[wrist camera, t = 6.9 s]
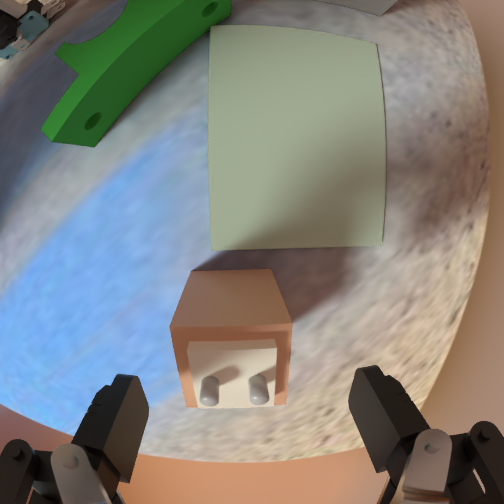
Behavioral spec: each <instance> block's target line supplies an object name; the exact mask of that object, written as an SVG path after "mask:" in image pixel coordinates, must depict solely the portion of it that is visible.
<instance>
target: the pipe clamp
mask: <svg viewBox="0 0 504 504" xmlns="http://www.w3.org/2000/svg"><path fill="white" fill-rule="evenodd" d="M229 15H231V0H127V5H126V7H125V9H124V11H123V13H122V14H121V16H120V17H119V18H118V19H117V20H116V22H115V23H114V24H113V25H111V26H110V27H109V28H108V29H107V30H106V31H104V32H103V33H101V34H100V35H98V36H97V37H95V38H93V39H91V40H89V41H87V42H84V43H80V44H68V43H66V42H64V43H63V44H62V46H61V47H60V48H59V49H58V50H57V51H56V53H55V55H56V56H58V57H59V58H60V59H61V60H62V61H64V62H65V63H66V64H67V65H68V66H69V67H71V68H72V69H73V70H74V71H75V72H76V73H78V74H79V76H78V77H77V78H76V79H75V81H74V82H73V83H72V84H71V86H70V87H69V88H68V90H67V91H66V92H65V94H64V95H63V96H62V98H61V99H60V100H59V102H58V103H57V105H56V106H55V108H54V109H53V110H52V112H51V113H50V115H49V116H48V118H47V119H46V121H45V123H44V124H43V126H42V127H41V130H42V132H43V133H44V134H45V135H46V136H47V137H48V138H49V140H50V141H51V142H57V143H65V144H73V145H81V146H88V147H95V146H96V144H97V143H98V142H99V140H100V139H101V138H102V136H103V135H104V134H105V133H106V131H107V130H108V129H109V127H110V126H111V125H112V124H113V123H114V121H115V120H116V119H117V118H118V116H119V115H120V114H121V113H122V112H123V111H124V109H125V108H126V107H127V106H128V105H129V104H130V103H131V101H132V100H133V99H134V98H135V97H136V96H137V95H138V94H139V93H140V92H141V91H142V90H143V89H144V87H145V86H146V85H147V84H148V83H149V82H150V81H151V80H152V79H153V78H154V77H155V76H156V75H157V74H158V73H159V72H160V71H162V70H163V69H164V68H165V67H166V66H167V65H168V64H169V63H170V62H171V61H172V60H173V59H174V58H176V57H177V56H178V55H179V54H180V53H181V52H182V51H184V50H185V49H186V48H187V47H188V46H190V45H191V44H192V43H193V42H194V41H196V40H197V39H198V38H199V37H201V36H202V35H203V34H204V33H206V32H207V31H208V30H210V26H215V25H216V24H218V23H219V22H221V21H222V20H223V19H225V18H226V17H228V16H229Z"/></svg>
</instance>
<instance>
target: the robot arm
mask: <svg viewBox="0 0 504 504" xmlns="http://www.w3.org/2000/svg"><path fill="white" fill-rule="evenodd" d="M348 403H349V409H350V412H351V414H352V416H353V418H354V421H355V423H356V425H357V428H358V430H359V432H360V435H361V437H362V439H363V442H364V444H365V446H366V449H367V451H368V454H369V456H370V458H371V461H372V463H373V465H374V468H375V470H376V473H380V472H383V471H386V470H387V471H388V473H389V476H388V478H387V480H386V483H385V485H384V488H383V490H382V493H381V495H380V497H379V500H378V502H377V504H504V437H503V436H502V434H501V433H500V431H499V430H498V428H497V427H496V426H495V425H494V424H493V423H491V422H488V421H480V422H478V423H476V424H475V425H474V426H473V427H472V428H471V430H470V431H469V432H468V433H463V434H458V435H450V436H449V435H448V434H446V433H445V432H443V431H442V430H439V429H431V428H430V427H429V425H428V424H427V422H426V421H425V419H424V418H423V416H422V415H421V413H420V411H419V410H418V408H417V407H416V405H415V404H414V403H413V401H411V398H410V397H409V395H408V394H407V393H406V391H405V389H404V388H403V386H402V385H401V383H400V382H399V381H397V380H396V379H394V378H393V377H392V376H390V375H387V376H385V375H384V374H383V372H382V371H381V369H380V368H379V367H378V366H377V365H373V366H368V367H362V368H358V369H357V370H356V372H355V375H354V379H353V383H352V387H351V390H350V394H349V399H348ZM87 411H88V412H87V413H86V414H85V416H84V418H83V420H82V422H81V424H80V426H79V428H78V430H77V432H76V434H75V436H74V438H73V440H72V442H71V443H70V444H63V445H60V446H58V447H57V448H56V449H55V450H54V451H53V452H49V451H38V450H33V449H32V448H31V447H30V445H29V444H28V443H27V442H26V441H24V440H20V439H15V440H12V441H10V442H9V443H7V445H6V446H5V447H4V449H3V451H2V453H1V455H0V504H26V502H27V499H28V496H29V493H30V490H31V487H32V488H33V492H32V495H31V498H30V501H29V504H126V503H125V502H124V500H123V498H122V496H121V494H120V493H119V491H118V489H117V486H118V483H119V481H121V482H125V483H130V479H131V476H132V472H133V468H134V465H135V461H136V458H137V454H138V450H139V447H140V443H141V440H142V437H143V433H144V430H145V426H146V423H147V420H148V416H149V406H148V402H147V399H146V397H145V394H144V391H143V388H142V385H141V382H140V380H139V378H138V376H134V375H125V374H117V375H116V377H115V379H114V381H113V383H112V384H111V386H109V385H105V386H104V387H103V388H102V389H101V390H100V391H98V392H97V393H96V395H95V397H94V399H93V401H92V405H90V406H89V408H88V410H87ZM474 469H475V470H476V472H477V474H478V475H479V477H480V479H481V481H482V483H483V485H484V487H485V493H484V492H483V490H482V488H481V486H480V484H479V482H478V480H477V478H476V477H475V474H474V473H473V470H474Z"/></svg>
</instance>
